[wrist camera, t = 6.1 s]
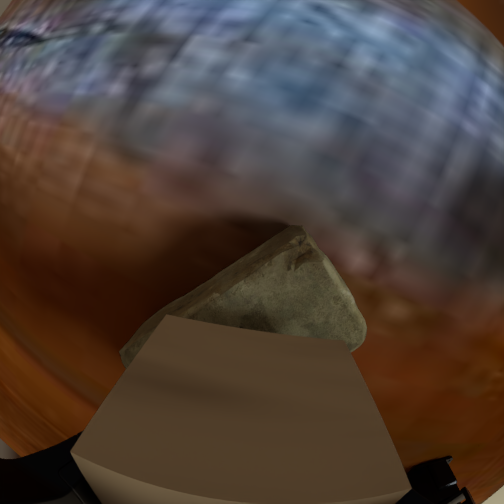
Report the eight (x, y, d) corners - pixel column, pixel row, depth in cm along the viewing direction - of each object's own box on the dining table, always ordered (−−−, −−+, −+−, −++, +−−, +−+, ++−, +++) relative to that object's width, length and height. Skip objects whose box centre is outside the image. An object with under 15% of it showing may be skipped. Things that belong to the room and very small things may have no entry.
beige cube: (301, 447, 10) (312, 559, 4) (167, 428, 10) (128, 537, 4) (344, 340, 9) (411, 487, 3) (166, 314, 9) (69, 452, 3)
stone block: (350, 298, 15) (381, 341, 10) (196, 385, 17) (178, 438, 12) (296, 213, 14) (313, 225, 9) (138, 321, 16) (101, 364, 11)
